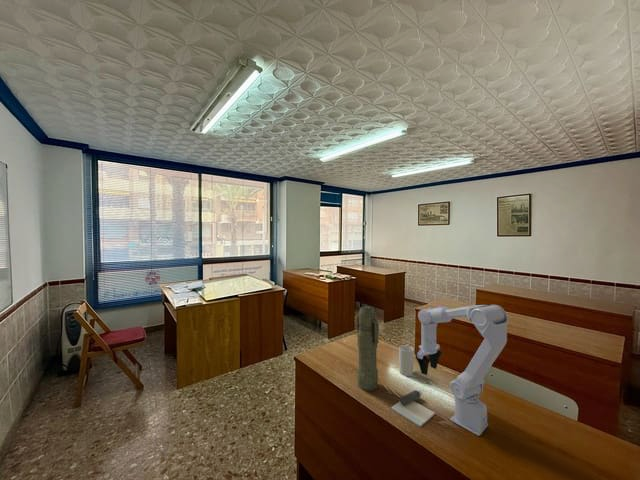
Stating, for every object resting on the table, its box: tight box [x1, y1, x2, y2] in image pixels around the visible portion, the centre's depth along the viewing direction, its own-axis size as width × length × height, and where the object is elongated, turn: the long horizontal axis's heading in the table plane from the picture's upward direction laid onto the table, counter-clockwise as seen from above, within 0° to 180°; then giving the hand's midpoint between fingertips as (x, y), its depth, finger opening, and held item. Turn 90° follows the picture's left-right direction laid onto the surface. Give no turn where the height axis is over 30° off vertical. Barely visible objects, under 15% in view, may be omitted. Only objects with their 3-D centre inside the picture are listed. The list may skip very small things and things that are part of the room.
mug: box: [398, 345, 415, 377], centre depth 123 cm, size 10×7×12 cm, turn 128°
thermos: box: [356, 305, 380, 392], centre depth 112 cm, size 9×12×35 cm
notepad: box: [391, 400, 436, 428], centre depth 95 cm, size 12×10×1 cm
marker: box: [399, 388, 423, 406], centre depth 100 cm, size 3×3×10 cm
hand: (428, 370), depth 104 cm, fingers open, 7 cm apart
